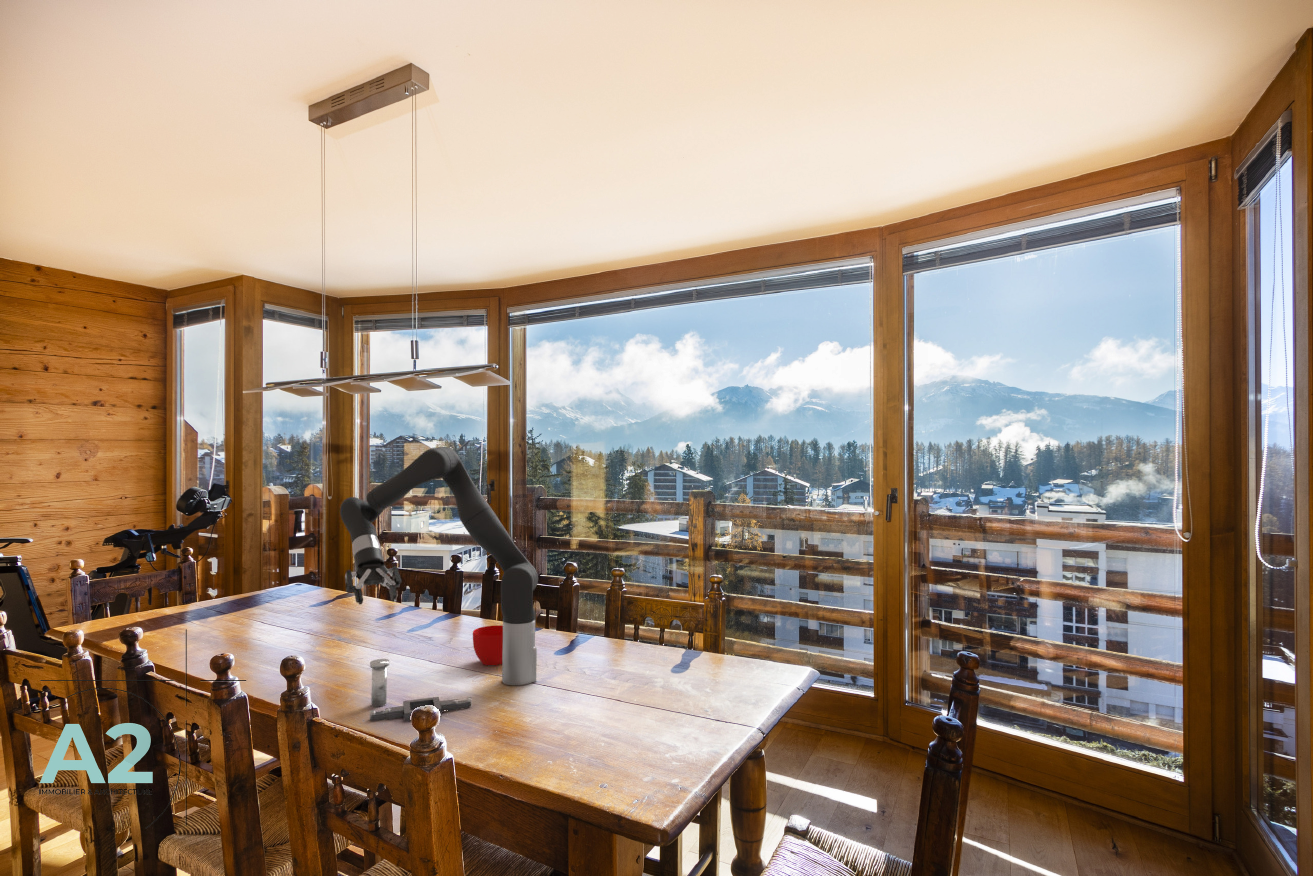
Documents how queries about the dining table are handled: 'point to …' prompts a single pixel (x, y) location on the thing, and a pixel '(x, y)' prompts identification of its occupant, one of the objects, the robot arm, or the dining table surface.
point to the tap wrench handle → (412, 704)
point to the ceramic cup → (489, 644)
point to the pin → (379, 682)
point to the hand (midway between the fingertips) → (377, 601)
